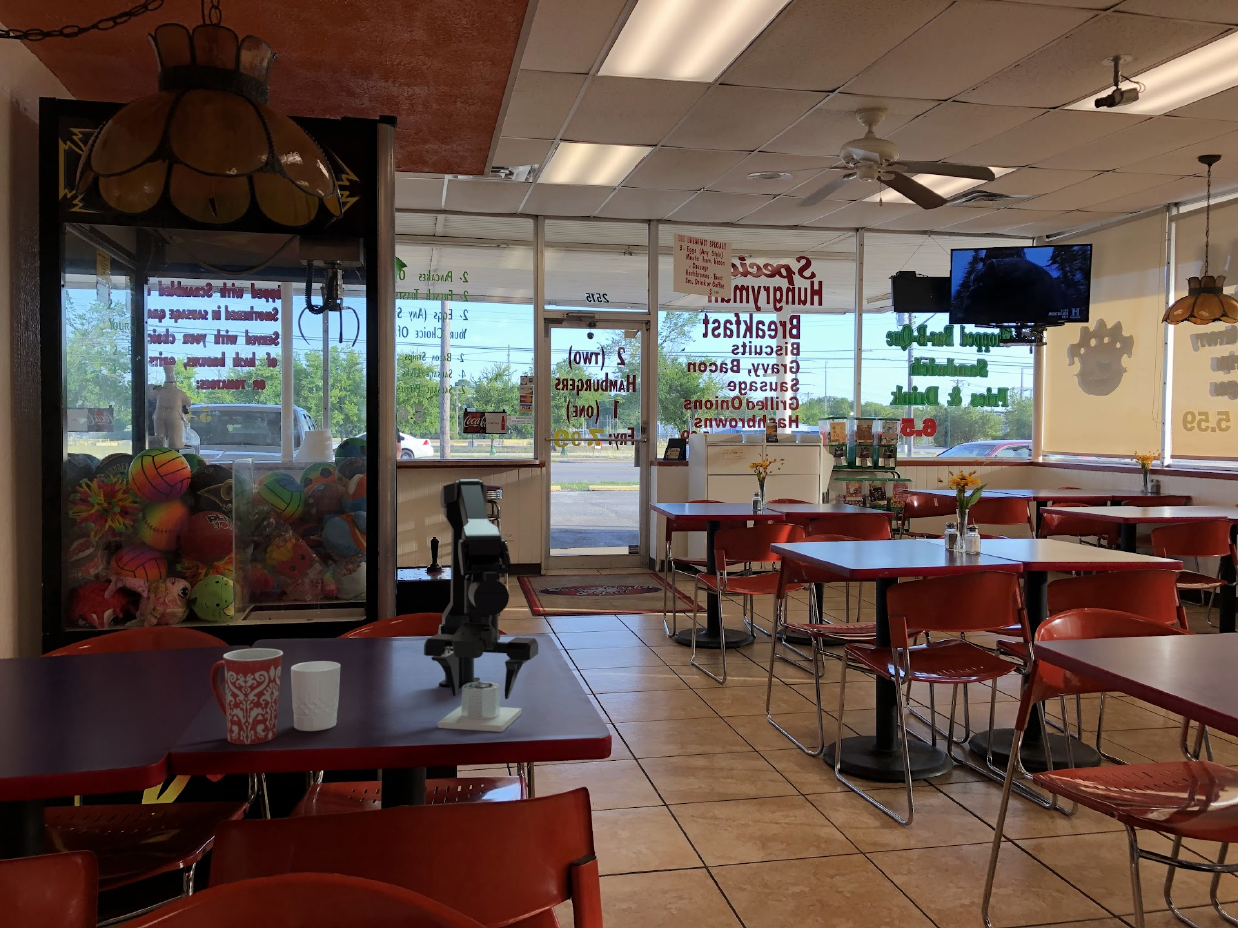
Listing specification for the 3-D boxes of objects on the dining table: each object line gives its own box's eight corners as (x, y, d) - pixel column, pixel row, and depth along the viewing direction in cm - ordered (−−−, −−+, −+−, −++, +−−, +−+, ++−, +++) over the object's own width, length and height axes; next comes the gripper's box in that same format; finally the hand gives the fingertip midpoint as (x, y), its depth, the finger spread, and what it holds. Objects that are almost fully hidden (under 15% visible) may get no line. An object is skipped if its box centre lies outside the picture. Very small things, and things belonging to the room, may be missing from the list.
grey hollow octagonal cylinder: (470, 709, 164) (470, 680, 164) (503, 711, 163) (503, 682, 163) (457, 718, 158) (458, 688, 158) (492, 720, 157) (492, 690, 157)
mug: (295, 733, 153) (295, 650, 153) (253, 749, 144) (253, 661, 144) (235, 724, 158) (236, 644, 158) (192, 739, 149) (192, 654, 149)
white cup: (322, 716, 163) (322, 658, 163) (349, 724, 158) (349, 665, 158) (281, 726, 157) (281, 666, 157) (307, 735, 152) (308, 673, 152)
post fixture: (461, 710, 167) (461, 676, 167) (521, 713, 165) (521, 679, 165) (438, 727, 156) (438, 691, 156) (502, 731, 154) (502, 695, 154)
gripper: (410, 611, 155) (410, 706, 155) (520, 615, 151) (520, 712, 151) (436, 601, 166) (436, 690, 166) (539, 605, 162) (538, 695, 162)
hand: (481, 697), depth 161 cm, fingers open, 9 cm apart
